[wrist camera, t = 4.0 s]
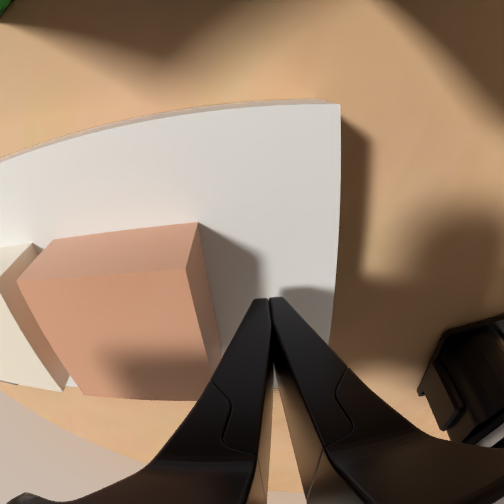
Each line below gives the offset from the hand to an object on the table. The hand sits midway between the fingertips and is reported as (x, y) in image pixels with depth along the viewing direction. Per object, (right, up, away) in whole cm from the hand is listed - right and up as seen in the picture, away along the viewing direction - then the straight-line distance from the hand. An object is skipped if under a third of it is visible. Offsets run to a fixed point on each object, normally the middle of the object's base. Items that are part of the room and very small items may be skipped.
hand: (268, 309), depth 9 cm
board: (-6, +1, +4) cm, 7 cm away
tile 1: (-10, 0, +1) cm, 10 cm away
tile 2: (-4, 0, +1) cm, 4 cm away
